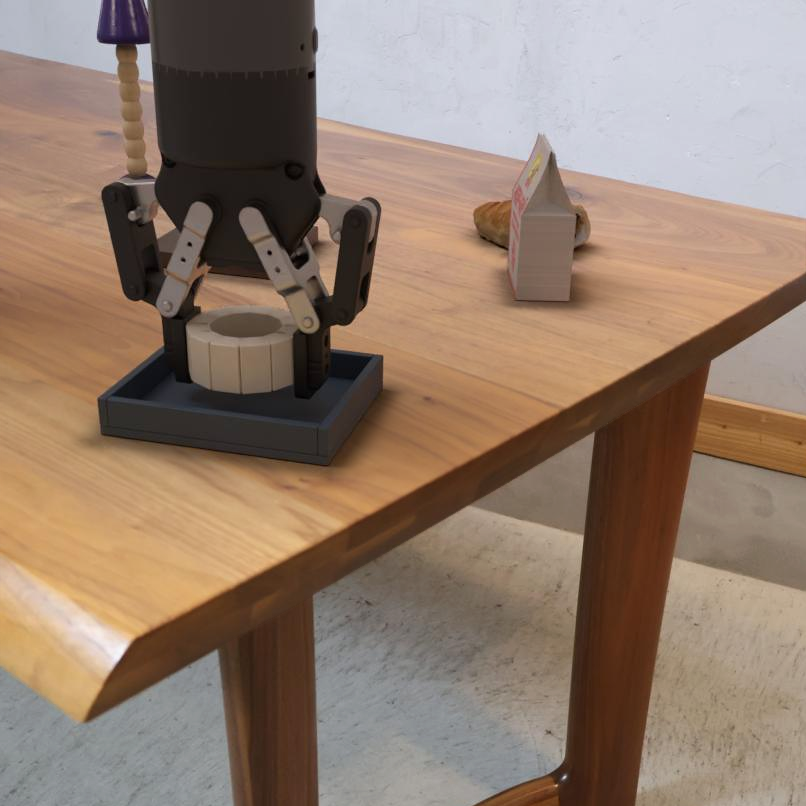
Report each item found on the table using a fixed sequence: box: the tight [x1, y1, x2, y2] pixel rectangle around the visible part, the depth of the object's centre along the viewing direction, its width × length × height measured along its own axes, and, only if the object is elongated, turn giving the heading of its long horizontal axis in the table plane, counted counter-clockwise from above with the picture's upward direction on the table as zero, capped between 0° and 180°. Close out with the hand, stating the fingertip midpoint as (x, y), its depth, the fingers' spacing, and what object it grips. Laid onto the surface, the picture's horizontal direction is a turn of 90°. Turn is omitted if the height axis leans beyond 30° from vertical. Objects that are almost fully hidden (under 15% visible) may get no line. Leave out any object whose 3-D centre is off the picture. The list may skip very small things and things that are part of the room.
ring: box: [186, 304, 298, 394], centre depth 60 cm, size 6×6×3 cm
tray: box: [96, 344, 384, 467], centre depth 61 cm, size 12×10×2 cm
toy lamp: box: [96, 0, 157, 180], centre depth 96 cm, size 5×5×17 cm
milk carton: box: [506, 132, 576, 302], centre depth 80 cm, size 4×7×10 cm, turn 2°
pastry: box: [472, 199, 592, 250], centre depth 91 cm, size 9×7×4 cm
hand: (249, 384), depth 61 cm, fingers closed on ring, 6 cm apart
